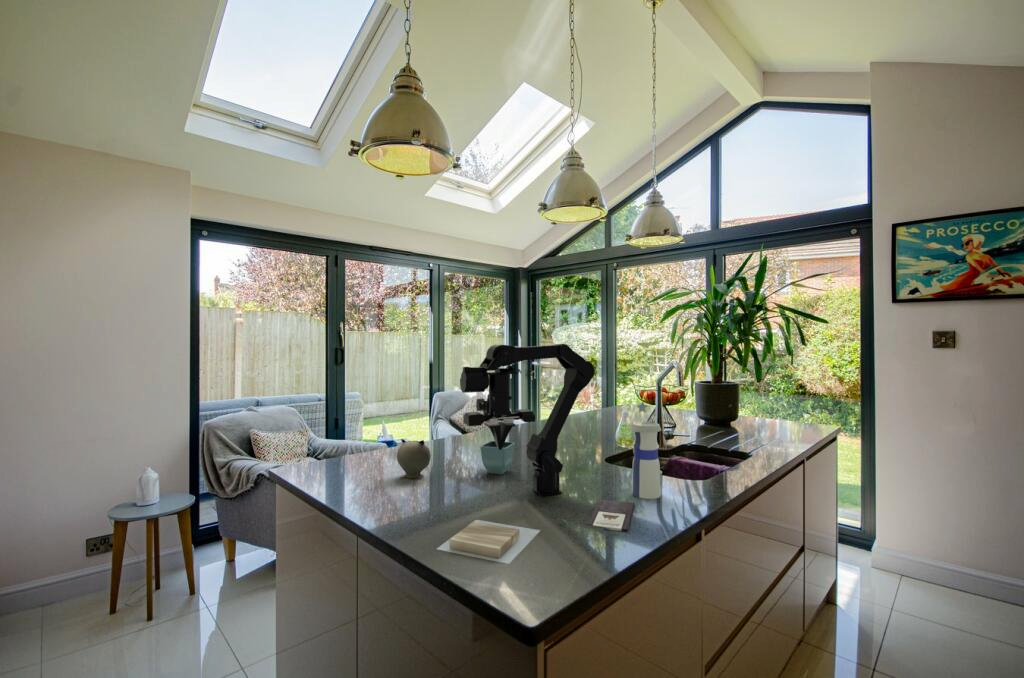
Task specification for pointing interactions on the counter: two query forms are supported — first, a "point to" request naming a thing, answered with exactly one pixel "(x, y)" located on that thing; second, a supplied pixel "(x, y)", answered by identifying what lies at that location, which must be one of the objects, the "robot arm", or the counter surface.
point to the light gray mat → (510, 554)
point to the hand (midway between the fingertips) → (499, 449)
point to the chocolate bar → (612, 515)
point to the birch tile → (484, 539)
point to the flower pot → (497, 457)
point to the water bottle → (646, 459)
